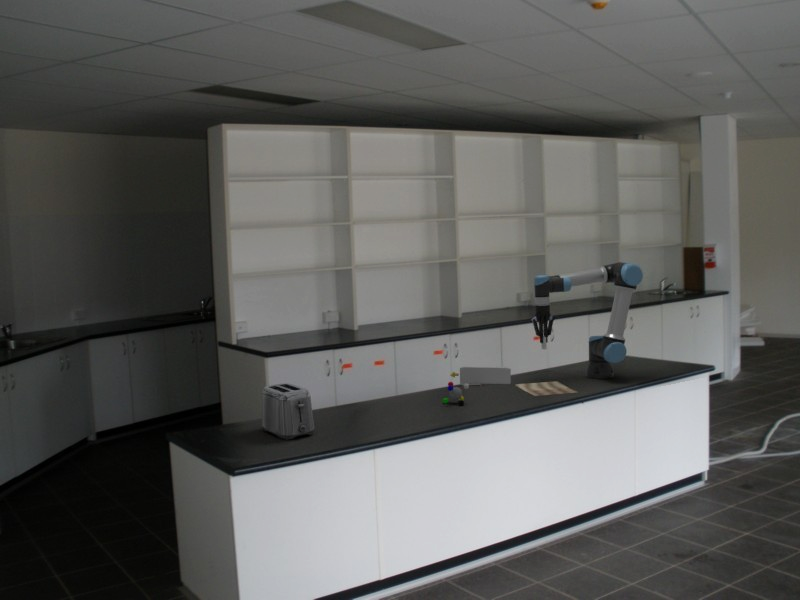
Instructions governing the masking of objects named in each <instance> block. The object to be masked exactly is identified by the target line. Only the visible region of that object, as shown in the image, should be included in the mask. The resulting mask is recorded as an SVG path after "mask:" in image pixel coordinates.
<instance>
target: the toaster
mask: <svg viewBox="0 0 800 600" xmlns="http://www.w3.org/2000/svg"><path fill="white" fill-rule="evenodd" d="M313 413H314V412H313V407H312V399H311V394H310V392H309V390H308V389H306V388H305V387H302V386H300V385H296V384H294V383H293V384H292V383H289V382H284V383H283V382H282V383H275V384H269V385H266V386H264V387H263V388H262V392H261V427H262V429H263V431H265V432H269V433H271V434H273V435H275V436H277V437H278V438H280V439H284V440H286V441H288V440H293V439H294V438H296V437H300V436H303V435H308V436H311V435H313V434H314V432H315V421H314V414H313Z"/></svg>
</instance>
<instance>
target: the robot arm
mask: <svg viewBox="0 0 800 600" xmlns="http://www.w3.org/2000/svg"><path fill="white" fill-rule="evenodd" d="M643 276H644V275H643V270H642V269H641V267H640V266H639V265H637V264H635V263H633V262H632V263H631V262H622V261H618V262H615V263H610V264H605V265H602V266H599V267H598V268H593V269H586V270H581V271H574V272H568V273H561V274H556V275H555V274H554V275H547V274H546V275H545V274H541V275H539V274H538V275H536V276H534V281H533V282H534V283H533V286H534V304H535V306H534V307H535V309H534V311H535V314H534V317H533V318H531V319H530V321H531V322H532V324H533V325H532V326H533V328H534V331H535V336H537V337H539V343H540V344H541V345H540V346H541V349H542V350H547V343H548V342H549V341H548V338H549V336H552V330H553V325H554V320H555V319H556V318H555V317H554V316H553V315H552V314H551V312H550V311H551V305H550V300H551V299H550V294H553V293H565V292H570V291H571V289H572V288H573V287H576V286H577V287H578V286H583V285H590V284H597V283H602V284H608V283H613V287H614V288H615V292H614V298H613V303H612V307H611V313H610V317H609V321H608V326H607V331H606V333H604V334H603V335H591V336H590V337H588V339H589V340H588V363H587V367H586V370H585V377H586V378H590V379H594V380H595V379H598V380H599V379H601V380H605V379H606V380H607V379H612V378H614V370H613V367H612V364H617V363H620V362H622V361H623V360H624V359H625V358H626V355H627V347H626V346H625V345H626V344H625V342H626V338H625V337H624V333H625V329H626V324H627V320H628V316H629V315H628V314H629V310H630V305H631V300H632V295H633V293H634V292H635V291H636V290H637V287H638V285H639V284H641V282H642V281H643Z"/></svg>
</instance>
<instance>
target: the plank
mask: <svg viewBox="0 0 800 600" xmlns="http://www.w3.org/2000/svg"><path fill="white" fill-rule="evenodd" d="M514 387H516V388H518V389H520V390H522V391H524V392H526V393H528V391H541V390H554V389H566V388H569V387H568V386H566V385H565V384H563V383H561V382H559V381H556V380H555V381H544V382H542V381H541V382H529V383H518V384H517V383H516V384H515V385H514Z"/></svg>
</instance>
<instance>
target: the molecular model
mask: <svg viewBox="0 0 800 600" xmlns="http://www.w3.org/2000/svg"><path fill="white" fill-rule="evenodd" d="M469 388H470V386H469V385H468V384H467V383H466V384H464V385H463V388H460V387H458V386H454V382H453V381H449V382H448V383H447V390H448V391H449V397H448V398H447V397H444V398H443V399H442V402H443V404H448V403H449V400H450V399H451V400H454V401H457V400H458V405H459V406H461V407H462V406H464V404H465V401H464V400H465V398H464V396H463V391H462V390H464V389H465V390H468V389H469Z"/></svg>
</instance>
